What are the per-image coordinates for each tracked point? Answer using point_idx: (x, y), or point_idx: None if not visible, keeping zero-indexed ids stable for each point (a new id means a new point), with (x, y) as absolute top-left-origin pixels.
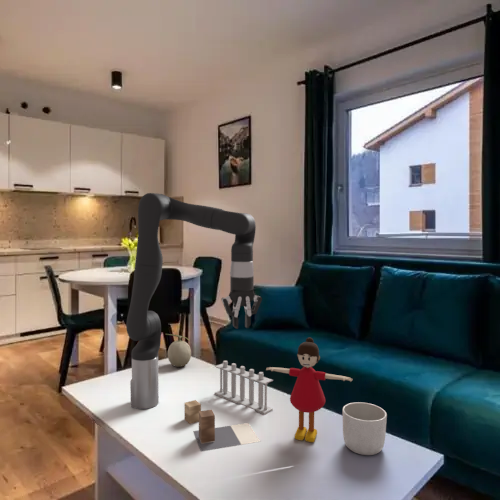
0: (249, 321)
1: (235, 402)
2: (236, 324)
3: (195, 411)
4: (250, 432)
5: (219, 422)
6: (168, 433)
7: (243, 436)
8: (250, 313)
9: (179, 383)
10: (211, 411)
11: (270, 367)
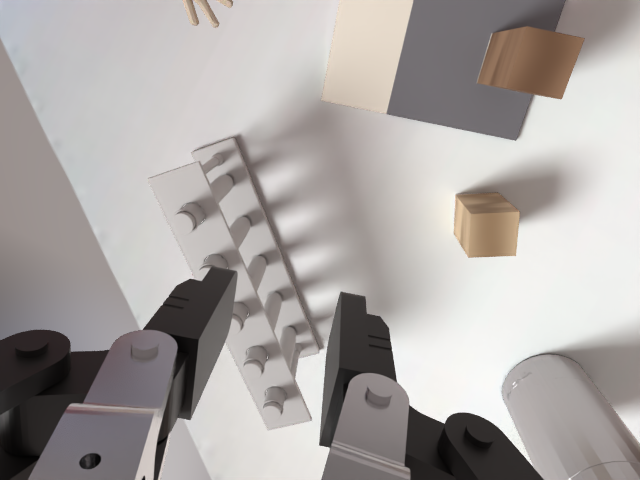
0: (180, 305)
1: (285, 264)
2: (363, 316)
3: (487, 206)
4: (348, 29)
5: (402, 161)
6: (584, 174)
7: (386, 14)
8: (121, 355)
9: None
10: (517, 70)
11: (192, 7)
